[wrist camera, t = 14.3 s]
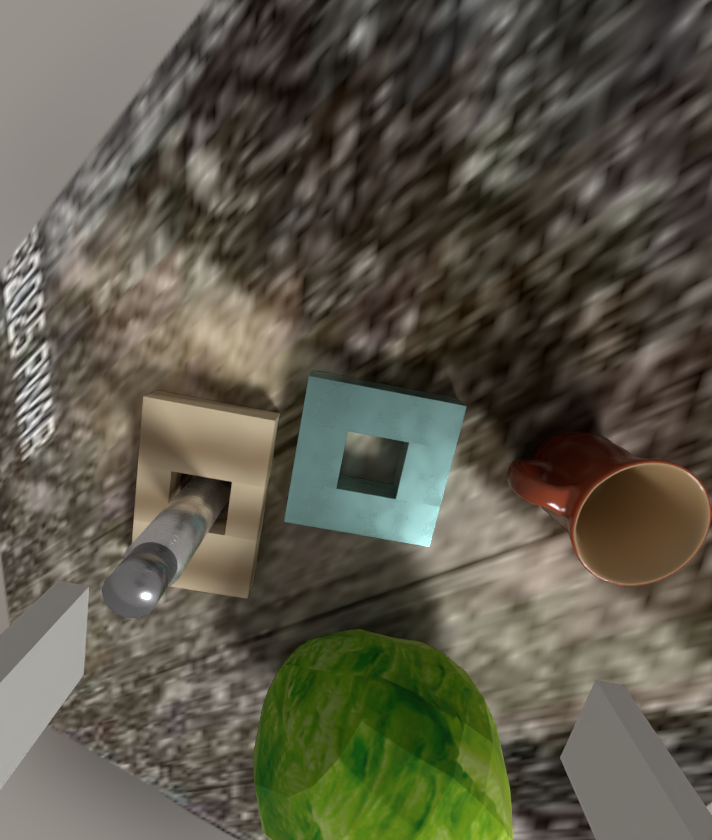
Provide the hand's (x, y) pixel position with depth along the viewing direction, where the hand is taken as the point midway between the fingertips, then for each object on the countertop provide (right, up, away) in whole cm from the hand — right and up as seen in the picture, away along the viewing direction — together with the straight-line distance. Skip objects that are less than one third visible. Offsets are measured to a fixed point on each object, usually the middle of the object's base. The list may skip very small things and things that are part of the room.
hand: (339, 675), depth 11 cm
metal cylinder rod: (-12, +1, +27) cm, 29 cm away
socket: (+2, +4, +26) cm, 26 cm away
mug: (+17, +3, +26) cm, 32 cm away
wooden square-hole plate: (-12, +1, +27) cm, 29 cm away
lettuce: (+3, -18, +32) cm, 37 cm away
